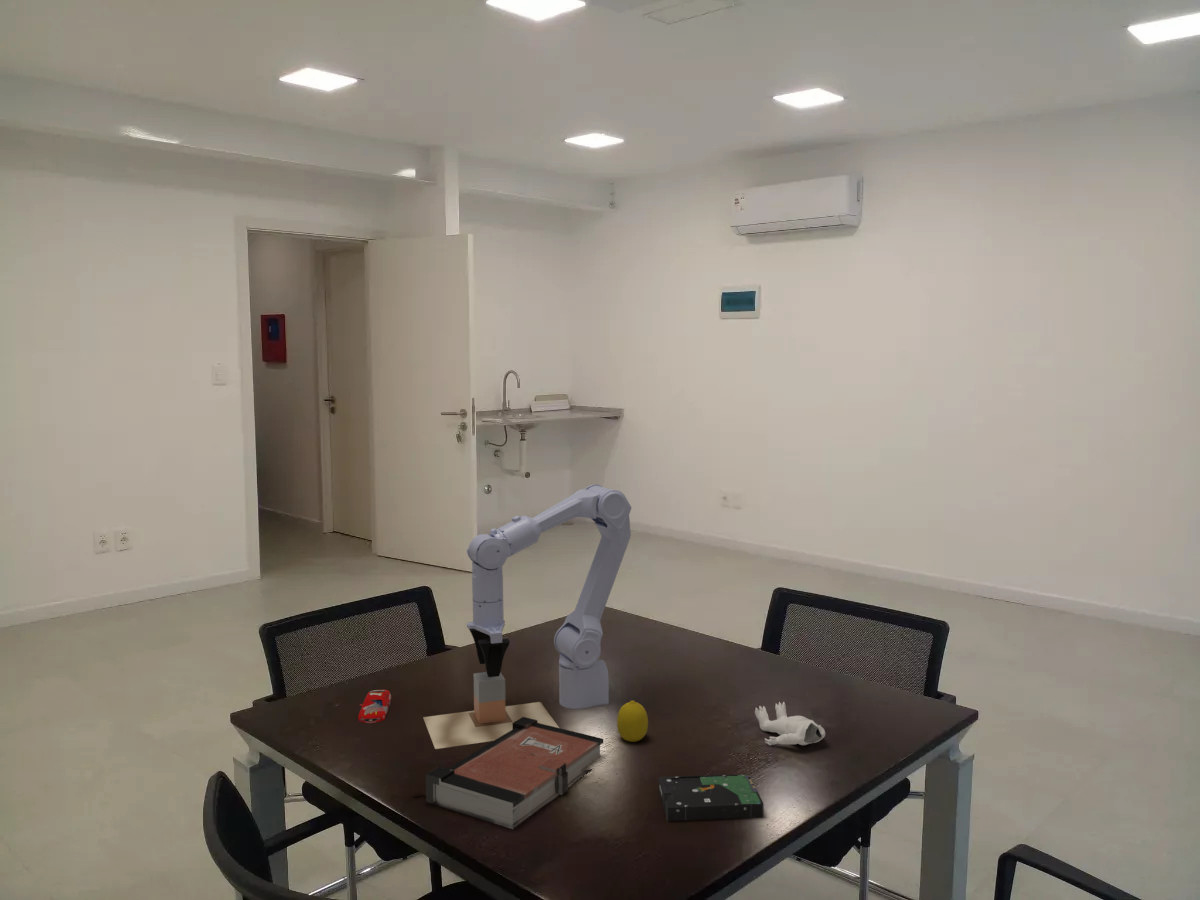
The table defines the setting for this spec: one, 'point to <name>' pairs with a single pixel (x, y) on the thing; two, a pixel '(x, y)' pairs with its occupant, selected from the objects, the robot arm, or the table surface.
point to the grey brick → (489, 687)
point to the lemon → (632, 721)
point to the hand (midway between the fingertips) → (489, 669)
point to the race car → (375, 706)
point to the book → (514, 773)
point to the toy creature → (789, 727)
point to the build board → (480, 725)
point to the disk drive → (710, 797)
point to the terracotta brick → (489, 711)
